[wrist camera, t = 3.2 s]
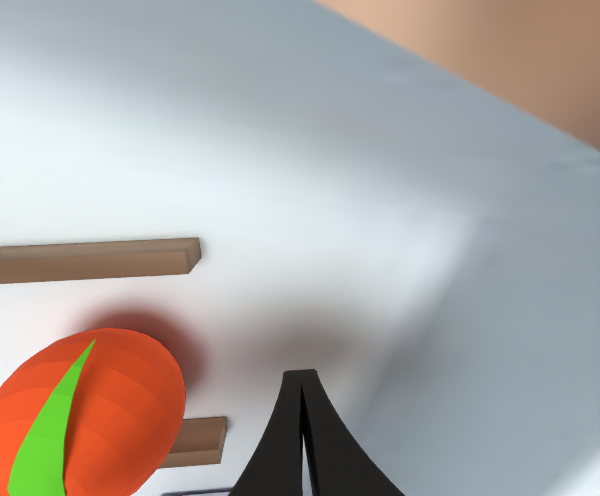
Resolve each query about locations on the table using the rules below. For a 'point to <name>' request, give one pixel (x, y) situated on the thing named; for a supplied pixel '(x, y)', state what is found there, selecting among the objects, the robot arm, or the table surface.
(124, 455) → the clementine
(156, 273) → the lane rails
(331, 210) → the table surface
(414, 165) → the table surface
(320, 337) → the table surface
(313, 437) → the robot arm
